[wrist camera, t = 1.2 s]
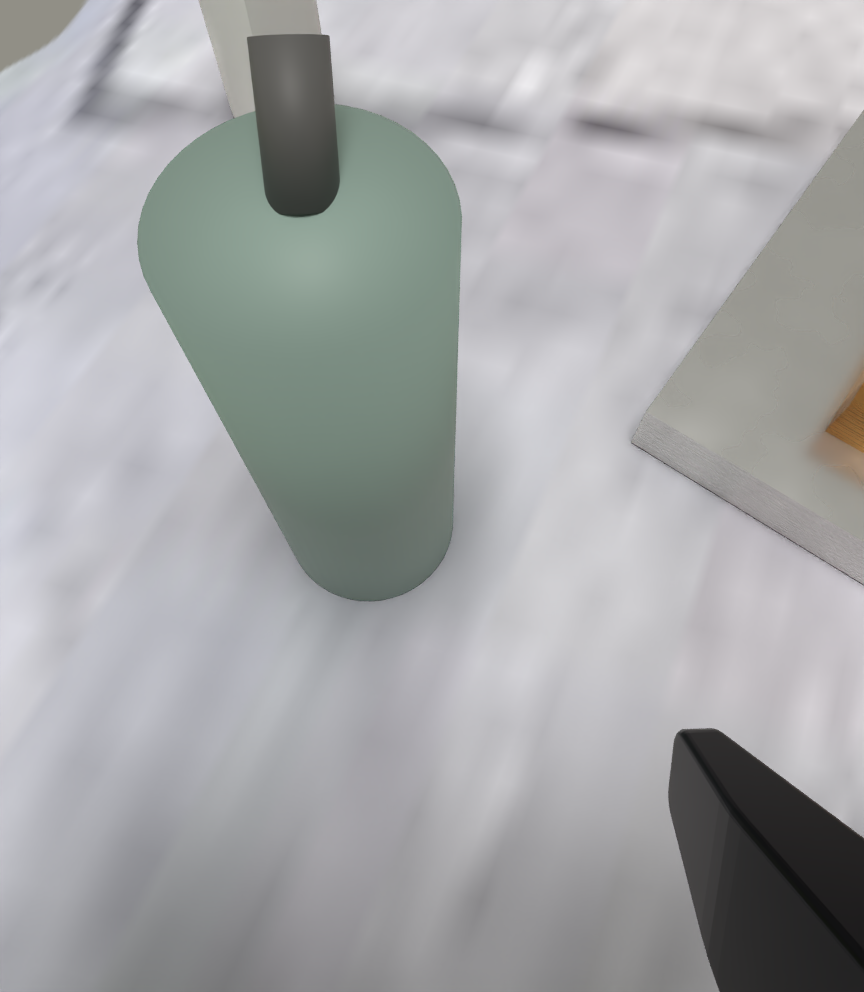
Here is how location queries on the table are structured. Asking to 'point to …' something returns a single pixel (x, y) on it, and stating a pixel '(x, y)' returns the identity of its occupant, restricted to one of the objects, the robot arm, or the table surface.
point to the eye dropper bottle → (244, 13)
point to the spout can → (321, 315)
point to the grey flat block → (784, 377)
